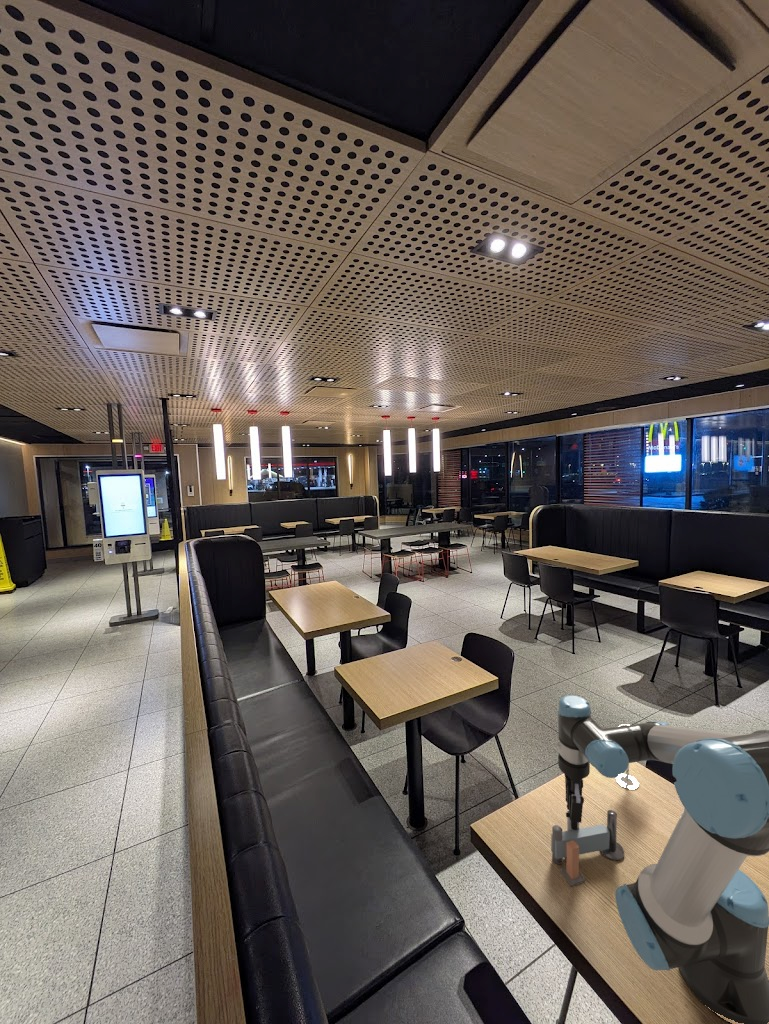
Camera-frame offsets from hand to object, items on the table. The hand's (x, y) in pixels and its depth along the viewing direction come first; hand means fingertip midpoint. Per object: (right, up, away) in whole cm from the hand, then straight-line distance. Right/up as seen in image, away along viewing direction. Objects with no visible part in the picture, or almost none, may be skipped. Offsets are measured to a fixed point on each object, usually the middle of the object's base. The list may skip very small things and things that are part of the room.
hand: (572, 835), depth 112 cm
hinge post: (+10, -4, -1) cm, 11 cm away
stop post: (-3, -5, -7) cm, 9 cm away
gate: (+1, -4, -2) cm, 4 cm away
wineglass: (+27, 0, +22) cm, 35 cm away
